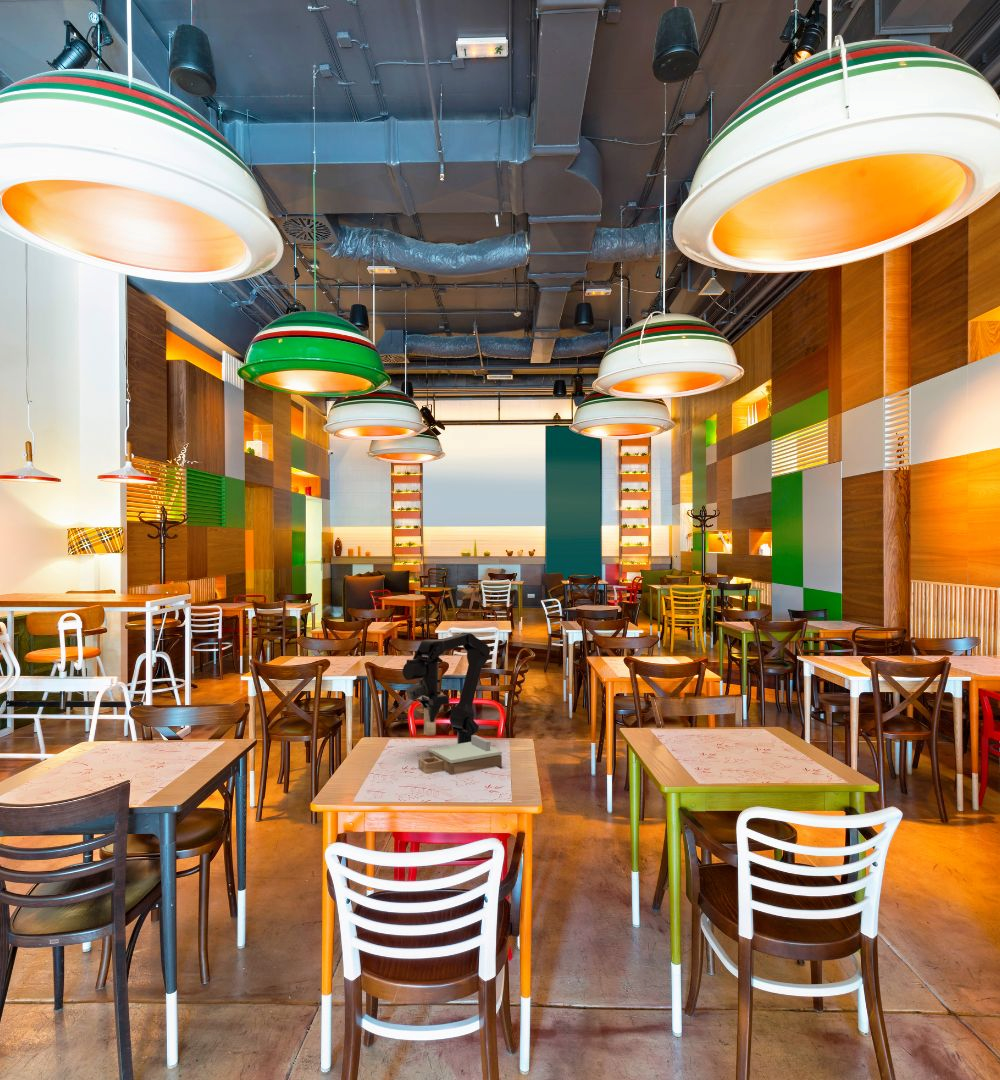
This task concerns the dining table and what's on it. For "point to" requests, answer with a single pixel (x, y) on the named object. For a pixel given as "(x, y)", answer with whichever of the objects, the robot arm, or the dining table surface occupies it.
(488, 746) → the lid
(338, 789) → the dining table surface
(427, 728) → the brown wooden block
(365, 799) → the dining table surface
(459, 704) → the robot arm
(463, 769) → the wooden box tray
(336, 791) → the dining table surface
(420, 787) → the dining table surface
